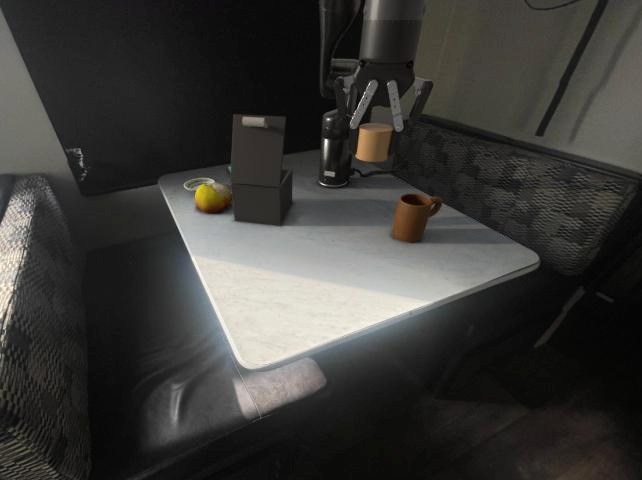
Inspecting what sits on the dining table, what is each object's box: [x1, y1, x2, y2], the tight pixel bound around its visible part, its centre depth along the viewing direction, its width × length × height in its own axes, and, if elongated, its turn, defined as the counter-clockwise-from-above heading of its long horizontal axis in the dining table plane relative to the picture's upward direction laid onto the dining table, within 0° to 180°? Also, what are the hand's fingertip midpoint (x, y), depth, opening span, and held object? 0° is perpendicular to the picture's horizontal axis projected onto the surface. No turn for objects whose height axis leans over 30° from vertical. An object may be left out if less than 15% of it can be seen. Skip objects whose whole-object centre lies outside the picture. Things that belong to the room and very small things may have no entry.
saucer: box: [183, 177, 216, 194], centre depth 104 cm, size 10×10×2 cm
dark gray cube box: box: [230, 167, 293, 227], centre depth 90 cm, size 15×13×10 cm
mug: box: [391, 193, 443, 243], centre depth 81 cm, size 12×8×9 cm, turn 112°
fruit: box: [194, 182, 233, 215], centre depth 94 cm, size 11×10×8 cm
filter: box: [354, 122, 394, 163], centre depth 53 cm, size 5×5×4 cm
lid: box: [229, 113, 287, 188], centre depth 77 cm, size 15×13×5 cm
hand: (371, 153), depth 54 cm, fingers closed on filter, 5 cm apart
